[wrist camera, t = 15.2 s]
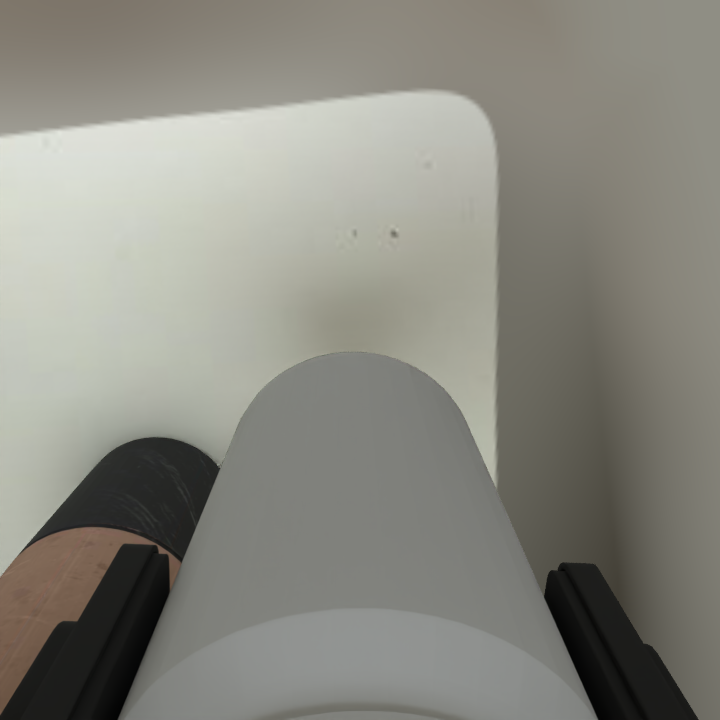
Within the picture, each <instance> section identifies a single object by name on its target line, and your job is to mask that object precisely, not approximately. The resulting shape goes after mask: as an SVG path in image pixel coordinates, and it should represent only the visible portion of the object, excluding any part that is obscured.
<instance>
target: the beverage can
mask: <svg viewBox="0 0 720 720" xmlns="http://www.w3.org/2000/svg"><path fill="white" fill-rule="evenodd" d="M118 720H598V718H597V716H596V714H595V712H594V709H593V707H592V705H591V703H590V700H589V698H588V696H587V694H586V691H585V689H584V687H583V685H582V682H581V680H580V678H579V675H578V673H577V671H576V669H575V666H574V664H573V662H572V660H571V657H570V655H569V653H568V651H567V648H566V646H565V644H564V642H563V639H562V637H561V635H560V633H559V630H558V628H557V626H556V623H555V621H554V619H553V617H552V614H551V612H550V610H549V608H548V605H547V603H546V601H545V599H544V596H543V594H542V592H541V590H540V587H539V585H538V583H537V581H536V578H535V576H534V574H533V572H532V569H531V567H530V565H529V563H528V560H527V558H526V556H525V554H524V551H523V549H522V547H521V544H520V542H519V540H518V538H517V535H516V533H515V531H514V529H513V526H512V524H511V522H510V520H509V517H508V515H507V513H506V510H505V508H504V506H503V504H502V501H501V499H500V497H499V495H498V492H497V490H496V488H495V486H494V483H493V481H492V479H491V476H490V474H489V472H488V470H487V467H486V465H485V463H484V461H483V458H482V456H481V454H480V452H479V449H478V447H477V445H476V443H475V440H474V438H473V436H472V433H471V431H470V429H469V427H468V424H467V422H466V420H465V418H464V416H463V414H462V412H461V411H460V409H459V407H458V406H457V404H456V403H455V402H454V400H453V399H452V398H451V396H450V395H449V394H448V393H447V392H446V391H445V390H444V389H443V388H442V387H441V386H440V385H439V384H438V383H437V382H436V381H435V380H433V379H432V378H431V377H429V376H428V375H427V374H425V373H424V372H422V371H420V370H419V369H417V368H415V367H413V366H411V365H409V364H407V363H405V362H402V361H400V360H398V359H394V358H391V357H388V356H384V355H379V354H374V353H367V352H340V353H333V354H327V355H322V356H318V357H315V358H312V359H309V360H306V361H303V362H301V363H299V364H297V365H295V366H293V367H291V368H289V369H287V370H286V371H284V372H282V373H281V374H279V375H278V376H277V377H275V378H274V379H273V380H272V381H270V382H269V383H268V384H267V385H266V386H265V387H264V388H263V389H262V390H261V391H260V392H259V393H258V395H257V396H256V397H255V398H254V400H253V401H252V403H251V404H250V405H249V407H248V408H247V410H246V411H245V413H244V414H243V416H242V418H241V420H240V422H239V424H238V427H237V429H236V432H235V434H234V436H233V439H232V441H231V444H230V446H229V449H228V451H227V454H226V456H225V458H224V461H223V463H222V466H221V468H220V471H219V473H218V476H217V478H216V480H215V483H214V485H213V488H212V490H211V493H210V495H209V498H208V500H207V502H206V505H205V507H204V510H203V512H202V515H201V517H200V520H199V522H198V524H197V527H196V529H195V532H194V534H193V537H192V539H191V542H190V544H189V547H188V549H187V551H186V554H185V556H184V559H183V561H182V564H181V566H180V569H179V571H178V573H177V576H176V578H175V581H174V583H173V586H172V588H171V591H170V593H169V595H168V598H167V600H166V603H165V605H164V608H163V610H162V613H161V615H160V617H159V620H158V622H157V625H156V627H155V630H154V632H153V635H152V637H151V639H150V642H149V644H148V647H147V649H146V652H145V654H144V657H143V659H142V662H141V664H140V666H139V669H138V671H137V674H136V676H135V679H134V681H133V684H132V686H131V688H130V691H129V693H128V696H127V698H126V701H125V703H124V706H123V708H122V710H121V713H120V715H119V718H118Z"/></svg>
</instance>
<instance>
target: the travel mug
mask: <svg viewBox="0 0 720 720" xmlns="http://www.w3.org/2000/svg"><path fill="white" fill-rule="evenodd" d="M219 471H220V469H219V468H218V466H217V465H216V464H215V463H214V462H213V461H212V460H211V459H210V458H209V457H208V456H207V455H205V454H204V453H203V452H201V451H200V450H198V449H196V448H195V447H193V446H191V445H188V444H186V443H184V442H180V441H177V440H173V439H167V438H144V439H139V440H135V441H132V442H129V443H126V444H124V445H122V446H120V447H118V448H116V449H114V450H113V451H112V452H110V453H109V454H108V455H107V456H105V457H104V458H103V459H102V460H101V461H100V462H99V463H98V464H97V465H96V466H95V467H94V469H93V470H92V471H91V472H90V473H89V474H88V475H87V476H86V478H85V479H84V480H83V481H82V482H81V483H80V484H79V486H78V487H77V488H76V489H75V490H74V491H73V493H72V494H71V495H70V496H69V497H68V498H67V499H66V501H65V502H64V503H63V504H62V505H61V506H60V508H59V509H58V510H57V511H56V512H55V513H54V514H53V516H52V517H51V518H50V519H49V520H48V521H47V522H46V524H45V525H44V526H43V527H42V528H41V529H40V531H39V532H38V533H37V534H36V535H35V536H34V537H33V539H32V540H31V541H30V542H29V543H28V544H27V546H26V547H25V548H24V549H23V550H22V551H21V552H20V554H19V555H18V556H17V557H16V558H15V560H14V561H13V562H12V563H11V564H10V566H9V567H8V568H7V569H6V571H5V572H4V573H3V575H2V576H1V577H0V715H1V713H2V711H3V710H4V708H5V707H6V705H7V703H8V702H9V700H10V698H11V697H12V695H13V694H14V692H15V690H16V689H17V687H18V686H19V684H20V682H21V681H22V679H23V678H24V676H25V674H26V673H27V671H28V670H29V668H30V666H31V665H32V663H33V662H34V660H35V658H36V657H37V655H38V653H39V652H40V650H41V649H42V647H43V645H44V644H45V642H46V641H47V639H48V637H49V636H50V634H51V633H52V631H53V630H54V628H55V627H56V626H57V624H58V623H60V622H62V621H78V619H79V617H80V616H81V614H82V612H83V611H84V609H85V607H86V605H87V604H88V602H89V600H90V598H91V597H92V595H93V593H94V592H95V590H96V588H97V586H98V585H99V583H100V581H101V580H102V578H103V576H104V574H105V573H106V571H107V569H108V568H109V566H110V564H111V562H112V561H113V559H114V557H115V556H116V554H117V552H118V550H119V549H120V547H121V546H122V545H123V544H125V543H126V544H149V545H157V546H158V550H159V554H168V556H169V568H170V591H171V588H172V586H173V583H174V581H175V578H176V576H177V573H178V571H179V569H180V566H181V564H182V561H183V559H184V556H185V554H186V551H187V549H188V547H189V544H190V542H191V539H192V537H193V534H194V532H195V529H196V527H197V524H198V522H199V520H200V517H201V515H202V512H203V510H204V507H205V505H206V502H207V500H208V498H209V495H210V493H211V490H212V488H213V485H214V483H215V480H216V478H217V476H218V473H219Z"/></svg>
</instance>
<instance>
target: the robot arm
mask: <svg viewBox="0 0 720 720" xmlns="http://www.w3.org/2000/svg"><path fill="white" fill-rule="evenodd" d="M169 593H170V568H169V556H168V554H159V550H158V546H157V545H149V544H126V543H125V544H123V545H122V546H121V547H120V549H119V550H118V552H117V554H116V556H115V557H114V559H113V561H112V562H111V564H110V566H109V568H108V569H107V571H106V573H105V574H104V576H103V578H102V580H101V581H100V583H99V585H98V586H97V588H96V590H95V592H94V593H93V595H92V597H91V598H90V600H89V602H88V604H87V605H86V607H85V609H84V611H83V612H82V614H81V616H80V617H79V619H78V621H62V622H60V623H58V624H57V626H56V627H55V628H54V630H53V631H52V633H51V634H50V636H49V637H48V639H47V641H46V642H45V644H44V645H43V647H42V649H41V650H40V652H39V653H38V655H37V657H36V658H35V660H34V662H33V663H32V665H31V666H30V668H29V670H28V671H27V673H26V674H25V676H24V678H23V679H22V681H21V682H20V684H19V686H18V687H17V689H16V690H15V692H14V694H13V695H12V697H11V698H10V700H9V702H8V703H7V705H6V707H5V708H4V710H3V711H2V713H1V715H0V720H118V718H119V715H120V713H121V710H122V708H123V706H124V703H125V701H126V698H127V696H128V693H129V691H130V688H131V686H132V684H133V681H134V679H135V676H136V674H137V671H138V669H139V666H140V664H141V662H142V659H143V657H144V654H145V652H146V649H147V647H148V644H149V642H150V639H151V637H152V635H153V632H154V630H155V627H156V625H157V622H158V620H159V617H160V615H161V613H162V610H163V608H164V605H165V603H166V600H167V598H168V595H169ZM544 599H545V601H546V603H547V605H548V608H549V610H550V612H551V614H552V617H553V619H554V621H555V623H556V626H557V628H558V630H559V633H560V635H561V637H562V639H563V642H564V644H565V646H566V648H567V651H568V653H569V655H570V657H571V660H572V662H573V664H574V666H575V669H576V671H577V673H578V675H579V678H580V680H581V682H582V685H583V687H584V689H585V691H586V694H587V696H588V698H589V700H590V703H591V705H592V707H593V709H594V712H595V714H596V716H597V718H598V720H698V718H697V716H696V715H695V713H694V712H693V710H692V708H691V707H690V705H689V703H688V702H687V700H686V699H685V697H684V696H683V694H682V692H681V691H680V689H679V687H678V686H677V684H676V683H675V681H674V679H673V678H672V676H671V674H670V673H669V671H668V670H667V668H666V666H665V665H664V663H663V662H662V660H661V658H660V657H659V655H658V653H657V652H656V651H655V650H654V649H653V647H652V646H650V645H648V644H643V642H642V640H641V639H640V637H639V635H638V634H637V632H636V630H635V629H634V627H633V625H632V624H631V622H630V620H629V619H628V617H627V616H626V614H625V612H624V611H623V609H622V607H621V606H620V604H619V602H618V601H617V599H616V597H615V596H614V594H613V592H612V591H611V589H610V587H609V586H608V584H607V582H606V581H605V579H604V577H603V576H602V574H601V572H600V571H599V569H598V568H597V566H596V565H594V564H586V563H561V564H560V565H559V567H558V571H554V570H551V571H550V572H549V574H548V577H547V583H546V589H545V595H544Z"/></svg>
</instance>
